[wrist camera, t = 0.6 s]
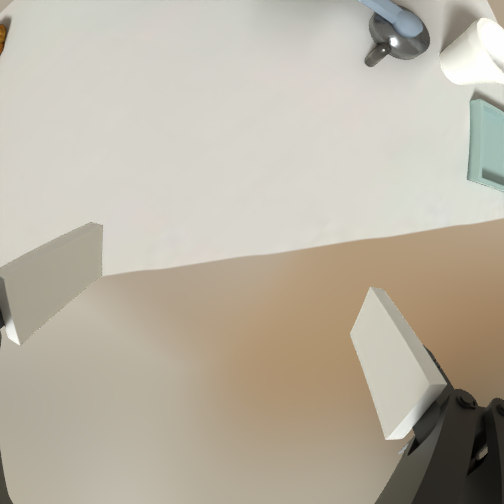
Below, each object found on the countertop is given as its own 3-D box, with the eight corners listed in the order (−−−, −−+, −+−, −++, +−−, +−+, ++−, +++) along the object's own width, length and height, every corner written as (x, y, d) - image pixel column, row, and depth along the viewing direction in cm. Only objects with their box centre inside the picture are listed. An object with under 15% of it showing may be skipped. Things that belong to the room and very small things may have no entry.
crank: (420, 29, 24) (430, 21, 21) (410, 43, 25) (420, 35, 22) (345, -22, 23) (350, -34, 19) (332, -10, 24) (337, -22, 21)
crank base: (361, 4, 26) (373, -16, 20) (418, 22, 26) (436, 7, 20) (364, 65, 30) (380, 50, 24) (423, 82, 30) (445, 73, 24)
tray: (469, 100, 29) (480, 98, 26) (516, 126, 29) (526, 126, 26) (467, 179, 34) (477, 181, 31) (512, 195, 33) (522, 198, 30)
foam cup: (469, 52, 26) (514, 35, 14) (476, 99, 29) (527, 91, 17) (427, 35, 27) (469, 7, 14) (434, 84, 30) (484, 66, 17)
